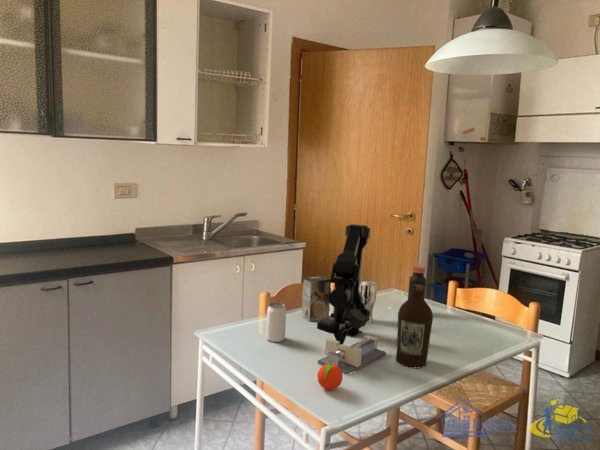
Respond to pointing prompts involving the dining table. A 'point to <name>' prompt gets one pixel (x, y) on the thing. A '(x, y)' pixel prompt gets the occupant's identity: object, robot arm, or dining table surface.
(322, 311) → the coffee box
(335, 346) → the cream flat bar
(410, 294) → the bottle
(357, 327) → the robot arm
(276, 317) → the can
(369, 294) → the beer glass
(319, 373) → the clementine
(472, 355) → the dining table surface
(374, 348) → the steel pipe
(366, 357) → the rail board
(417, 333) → the olive oil
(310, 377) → the dining table surface
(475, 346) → the dining table surface
